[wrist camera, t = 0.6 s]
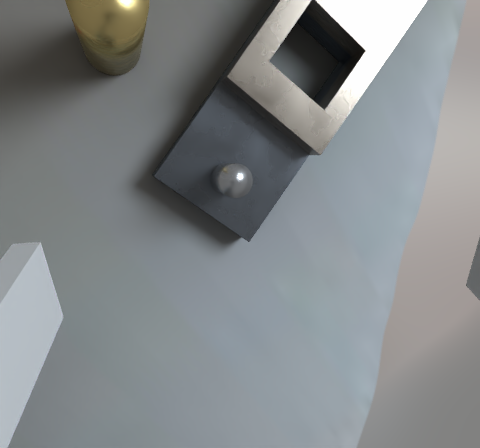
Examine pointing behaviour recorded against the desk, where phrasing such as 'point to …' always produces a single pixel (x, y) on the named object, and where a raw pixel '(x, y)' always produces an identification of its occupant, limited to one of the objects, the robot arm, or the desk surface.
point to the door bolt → (278, 108)
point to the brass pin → (110, 32)
